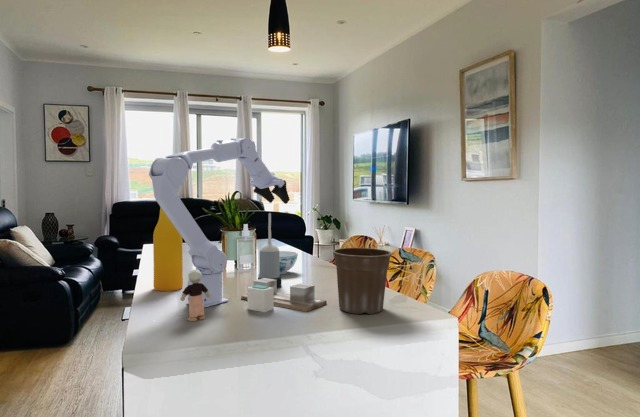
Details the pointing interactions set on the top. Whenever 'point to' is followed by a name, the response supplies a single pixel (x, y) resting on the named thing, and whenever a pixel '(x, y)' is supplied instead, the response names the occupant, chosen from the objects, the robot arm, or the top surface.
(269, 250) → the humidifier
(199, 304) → the grandmother figurine
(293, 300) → the board
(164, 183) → the robot arm
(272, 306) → the block
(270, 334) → the top surface
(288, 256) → the chinaware
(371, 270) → the plant pot
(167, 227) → the beer bottle
